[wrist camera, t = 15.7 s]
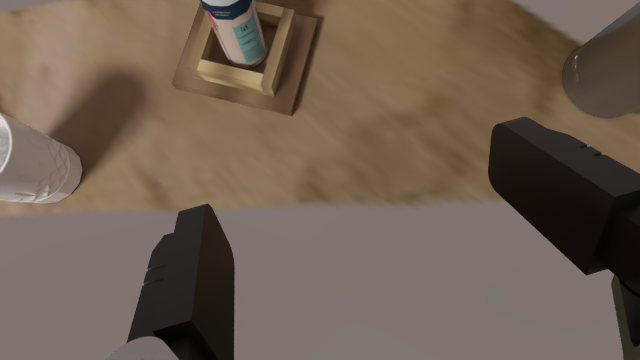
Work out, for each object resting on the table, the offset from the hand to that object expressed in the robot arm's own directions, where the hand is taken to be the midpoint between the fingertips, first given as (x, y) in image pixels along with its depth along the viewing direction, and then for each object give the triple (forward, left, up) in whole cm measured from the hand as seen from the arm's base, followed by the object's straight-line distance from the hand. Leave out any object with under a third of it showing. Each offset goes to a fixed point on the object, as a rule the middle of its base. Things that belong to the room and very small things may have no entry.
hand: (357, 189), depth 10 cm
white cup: (+31, +1, -29) cm, 43 cm away
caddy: (+14, -18, -29) cm, 37 cm away
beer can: (+14, -18, -28) cm, 36 cm away
